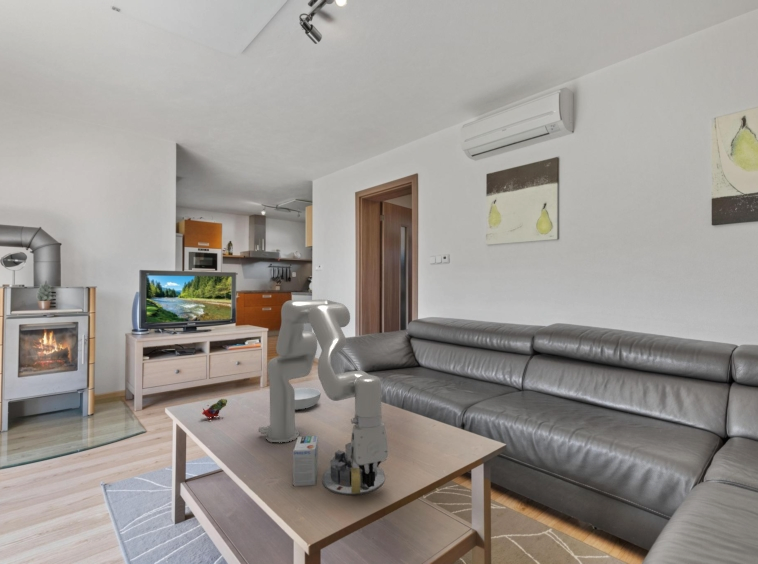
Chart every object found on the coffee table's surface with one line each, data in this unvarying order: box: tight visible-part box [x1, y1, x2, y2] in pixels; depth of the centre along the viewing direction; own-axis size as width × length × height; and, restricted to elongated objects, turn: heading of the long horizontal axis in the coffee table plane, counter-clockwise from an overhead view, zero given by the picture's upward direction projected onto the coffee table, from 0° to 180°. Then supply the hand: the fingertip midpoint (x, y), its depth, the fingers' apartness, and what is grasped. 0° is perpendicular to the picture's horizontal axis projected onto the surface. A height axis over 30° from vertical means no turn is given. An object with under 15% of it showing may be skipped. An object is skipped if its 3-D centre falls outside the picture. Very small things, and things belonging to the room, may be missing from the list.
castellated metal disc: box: [329, 450, 377, 494], centre depth 117 cm, size 17×14×5 cm
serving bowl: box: [293, 387, 322, 411], centre depth 189 cm, size 21×21×7 cm
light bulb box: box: [292, 435, 319, 487], centre depth 119 cm, size 11×7×11 cm, turn 5°
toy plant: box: [202, 398, 228, 419], centre depth 171 cm, size 8×10×12 cm
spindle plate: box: [321, 442, 386, 496], centre depth 118 cm, size 19×19×10 cm
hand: (369, 484), depth 110 cm, fingers closed
